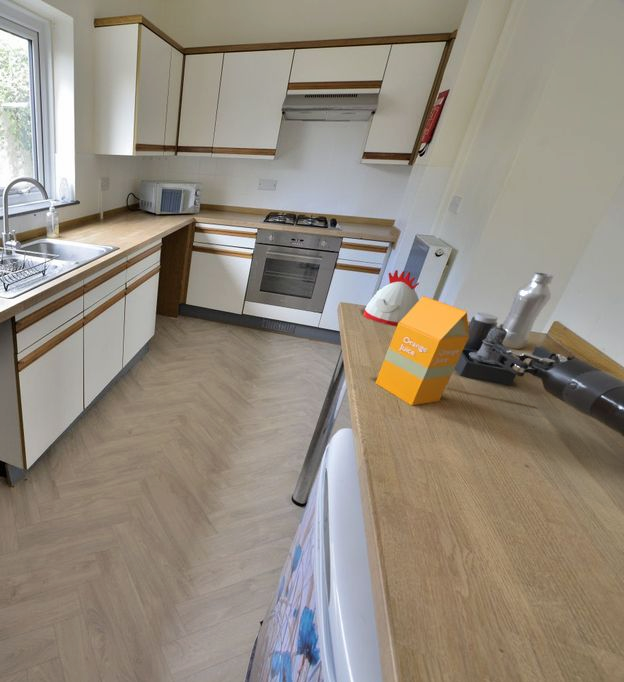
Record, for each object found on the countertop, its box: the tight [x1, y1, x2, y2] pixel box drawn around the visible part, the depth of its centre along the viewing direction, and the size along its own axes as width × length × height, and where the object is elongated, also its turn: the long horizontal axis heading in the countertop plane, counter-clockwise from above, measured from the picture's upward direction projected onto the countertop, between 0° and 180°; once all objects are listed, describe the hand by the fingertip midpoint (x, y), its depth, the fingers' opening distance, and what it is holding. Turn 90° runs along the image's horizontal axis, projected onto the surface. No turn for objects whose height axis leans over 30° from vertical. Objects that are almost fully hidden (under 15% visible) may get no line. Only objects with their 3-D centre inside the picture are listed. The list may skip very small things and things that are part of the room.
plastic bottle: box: [502, 272, 554, 350], centre depth 106 cm, size 6×7×20 cm
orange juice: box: [375, 295, 469, 406], centre depth 82 cm, size 8×9×20 cm
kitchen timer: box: [363, 269, 420, 327], centre depth 122 cm, size 14×14×15 cm
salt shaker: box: [469, 323, 507, 367], centre depth 92 cm, size 6×6×12 cm
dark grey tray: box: [454, 348, 517, 387], centre depth 98 cm, size 9×17×4 cm, turn 156°
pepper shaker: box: [464, 312, 499, 351], centre depth 99 cm, size 5×5×11 cm
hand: (514, 348), depth 86 cm, fingers open, 8 cm apart
